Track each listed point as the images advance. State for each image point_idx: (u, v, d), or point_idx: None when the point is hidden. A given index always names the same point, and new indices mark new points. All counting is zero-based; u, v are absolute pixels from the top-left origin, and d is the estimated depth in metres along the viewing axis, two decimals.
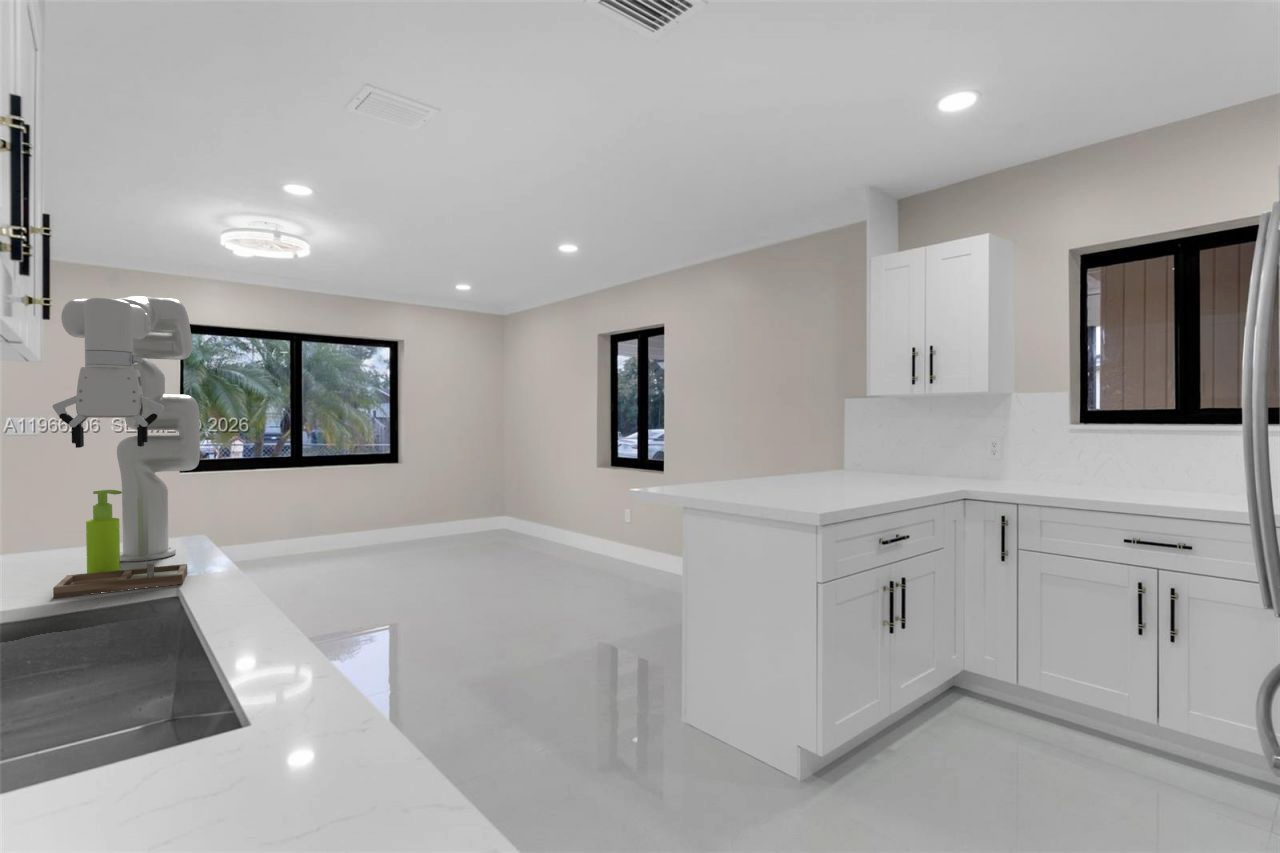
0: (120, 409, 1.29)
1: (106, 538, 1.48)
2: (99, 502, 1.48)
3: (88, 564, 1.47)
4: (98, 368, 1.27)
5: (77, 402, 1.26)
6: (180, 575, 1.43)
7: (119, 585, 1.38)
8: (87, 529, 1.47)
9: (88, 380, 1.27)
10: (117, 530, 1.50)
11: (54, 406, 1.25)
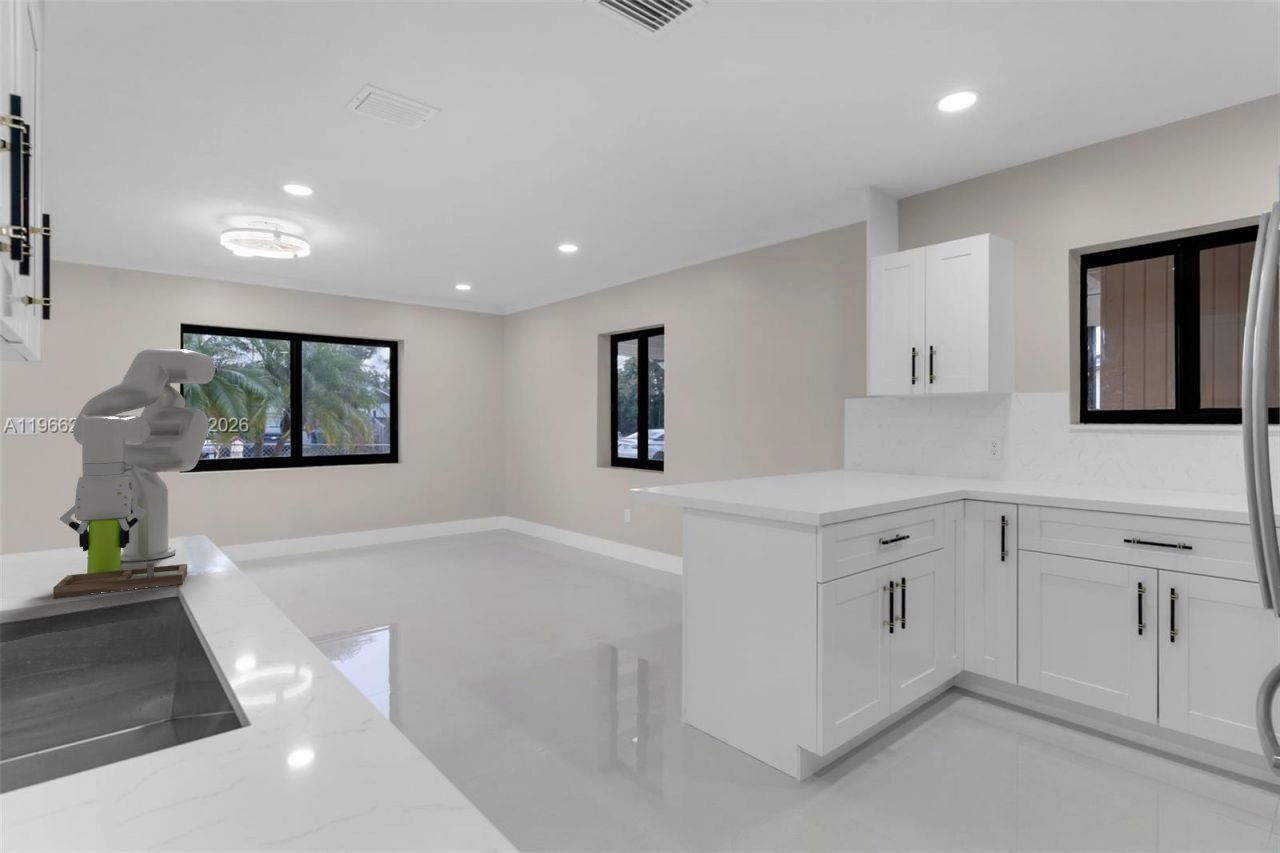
0: (113, 512, 1.48)
1: (108, 537, 1.48)
2: None
3: (89, 563, 1.47)
4: (94, 478, 1.46)
5: (75, 509, 1.45)
6: (180, 575, 1.43)
7: (119, 585, 1.38)
8: (90, 528, 1.47)
9: (85, 489, 1.46)
10: (119, 530, 1.50)
11: (61, 518, 1.45)
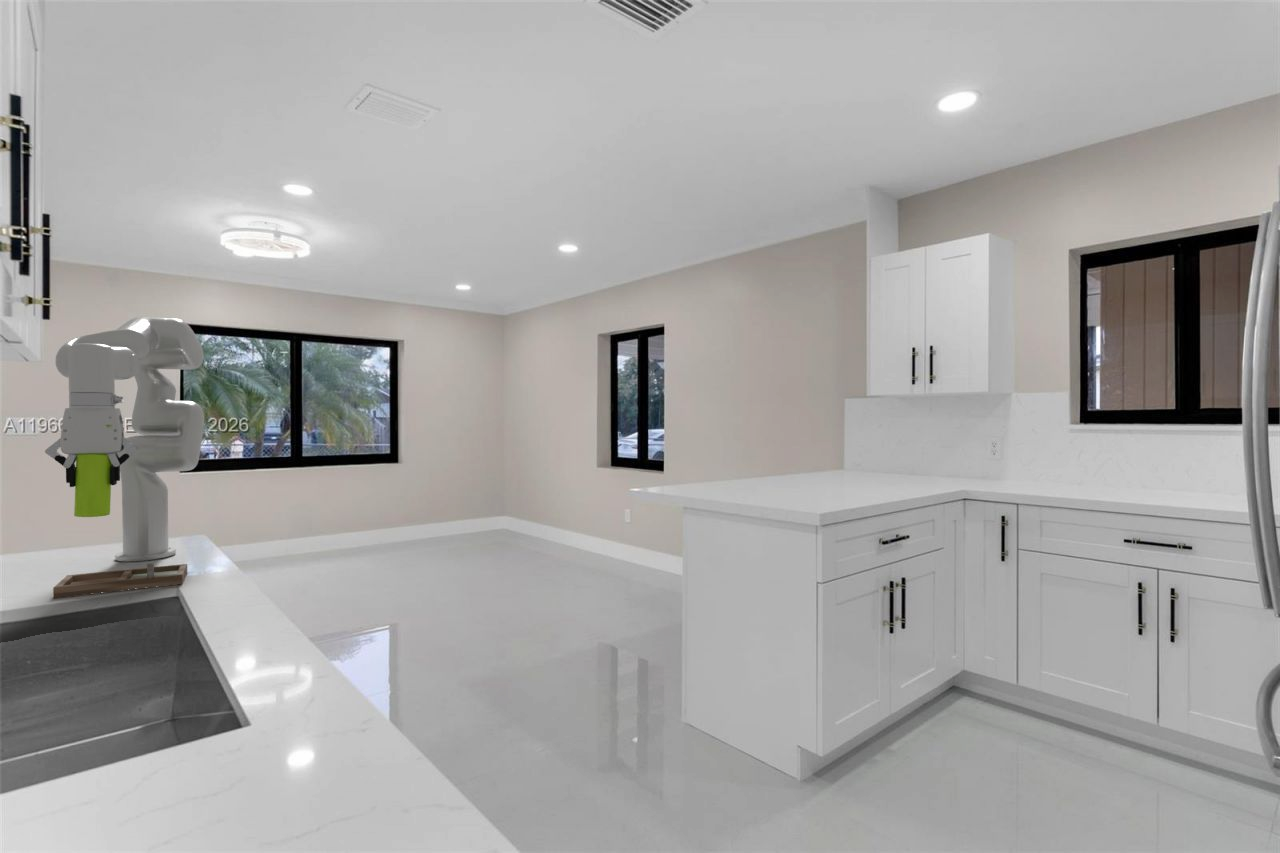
0: (102, 446, 1.39)
1: (97, 473, 1.38)
2: None
3: (76, 500, 1.37)
4: (81, 409, 1.36)
5: (62, 441, 1.35)
6: (180, 575, 1.43)
7: (119, 585, 1.38)
8: (77, 462, 1.37)
9: (72, 420, 1.36)
10: (109, 466, 1.40)
11: (46, 451, 1.35)
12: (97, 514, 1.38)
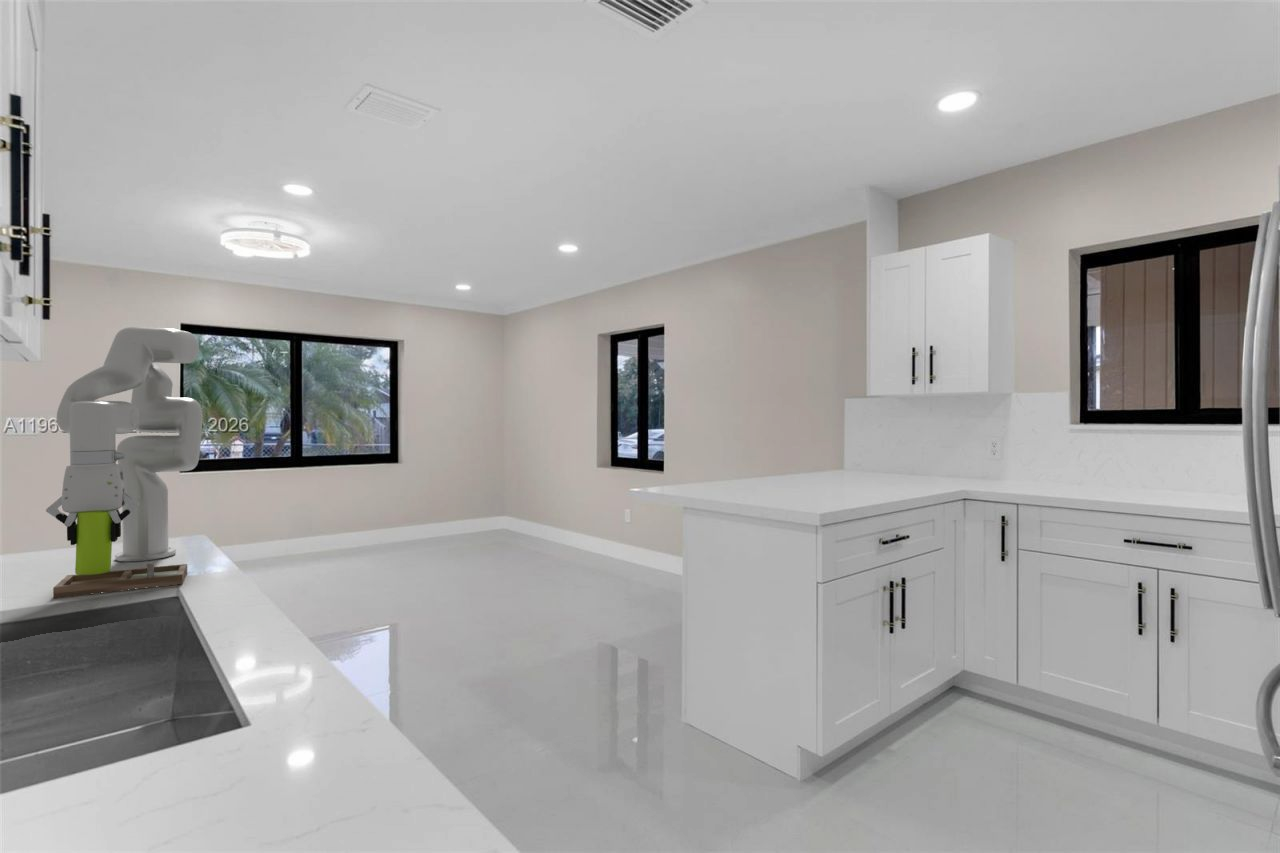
0: (103, 504, 1.39)
1: (98, 530, 1.38)
2: None
3: (77, 558, 1.38)
4: (82, 467, 1.37)
5: (63, 499, 1.36)
6: (180, 575, 1.43)
7: (119, 585, 1.38)
8: (78, 520, 1.38)
9: (73, 478, 1.36)
10: (110, 522, 1.41)
11: (47, 510, 1.36)
12: (98, 571, 1.39)
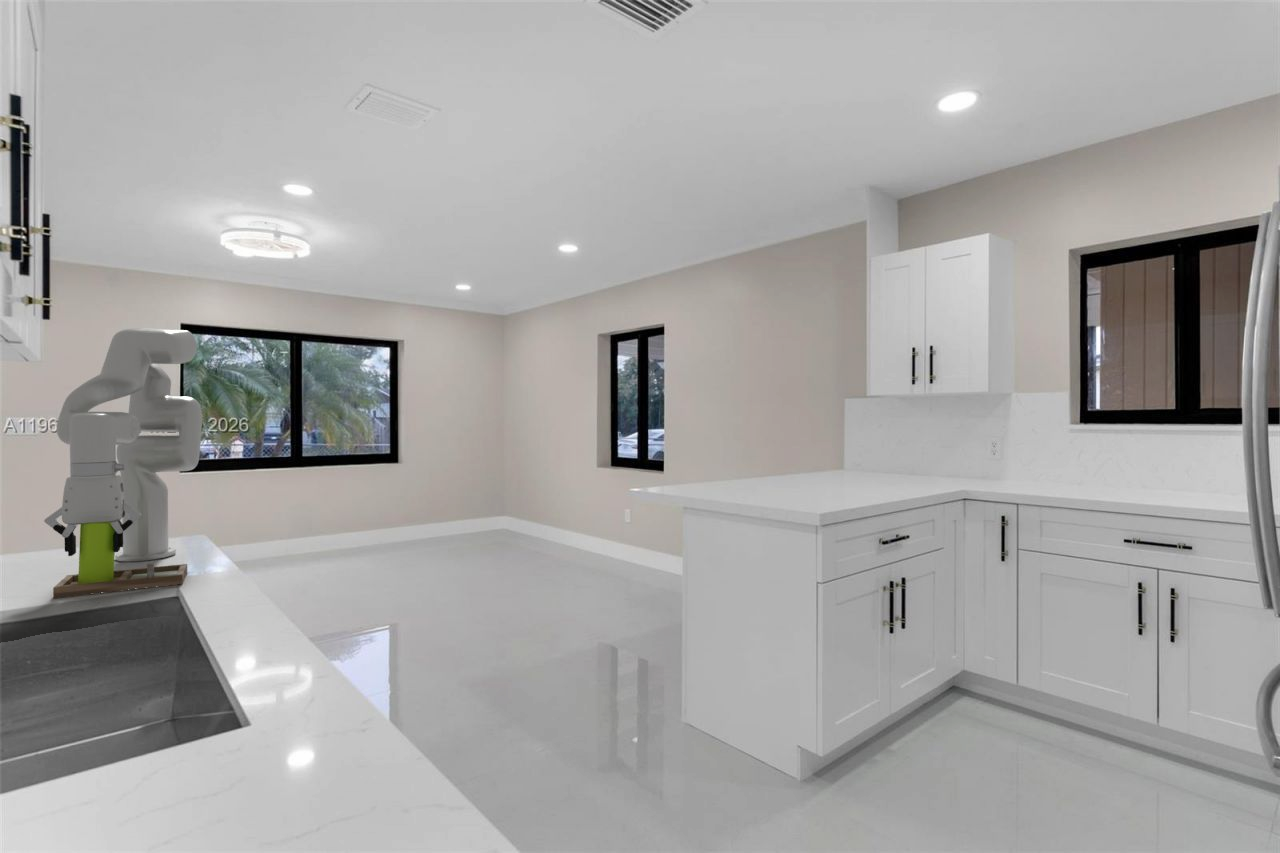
0: (103, 515, 1.39)
1: (101, 540, 1.39)
2: None
3: (80, 568, 1.38)
4: (82, 479, 1.37)
5: (63, 511, 1.36)
6: (180, 575, 1.43)
7: (119, 585, 1.38)
8: (81, 530, 1.38)
9: (73, 490, 1.36)
10: (113, 533, 1.41)
11: (46, 520, 1.35)
12: (101, 581, 1.39)
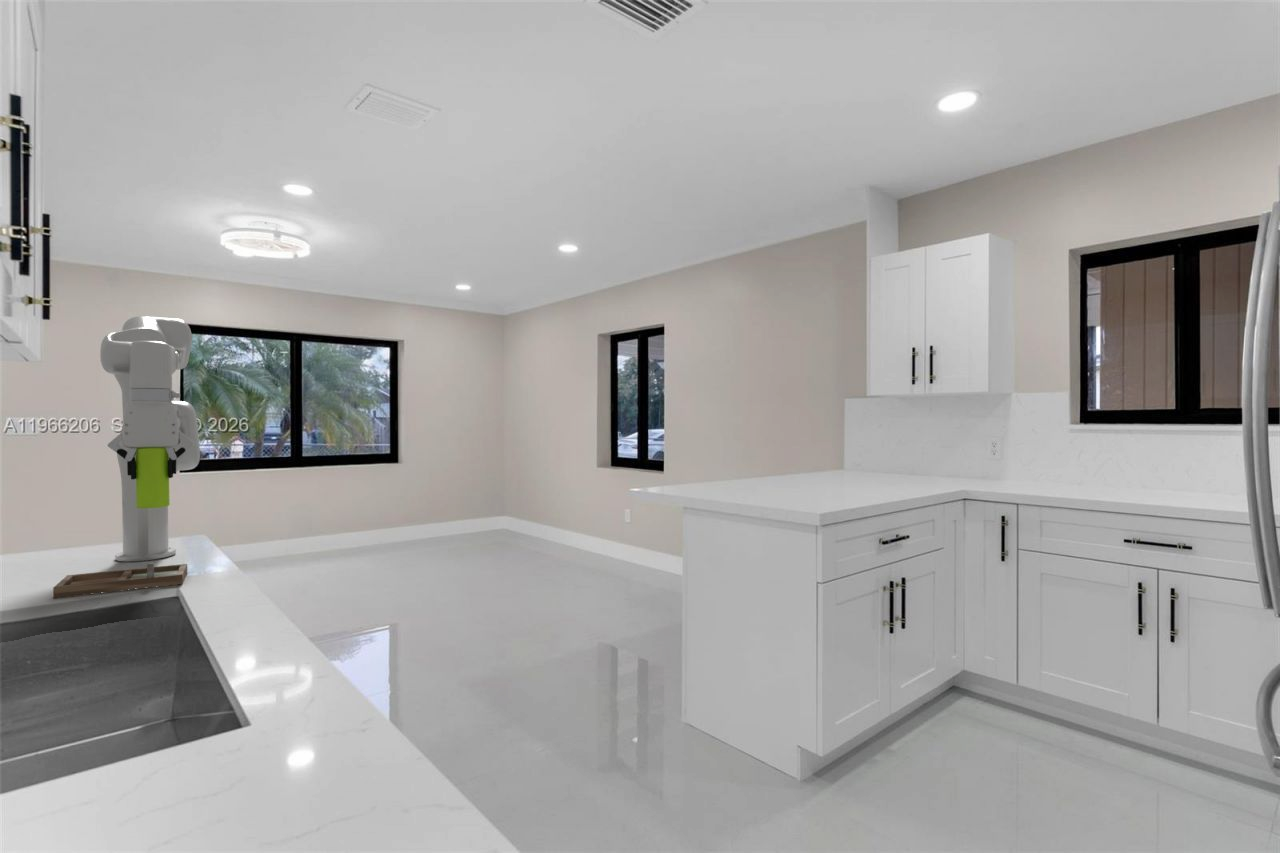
0: (161, 440, 1.44)
1: (157, 465, 1.43)
2: None
3: (138, 492, 1.43)
4: (142, 404, 1.42)
5: (123, 435, 1.41)
6: (180, 575, 1.43)
7: (119, 585, 1.38)
8: (137, 456, 1.42)
9: (133, 414, 1.41)
10: (167, 458, 1.46)
11: (109, 445, 1.40)
12: (158, 505, 1.44)
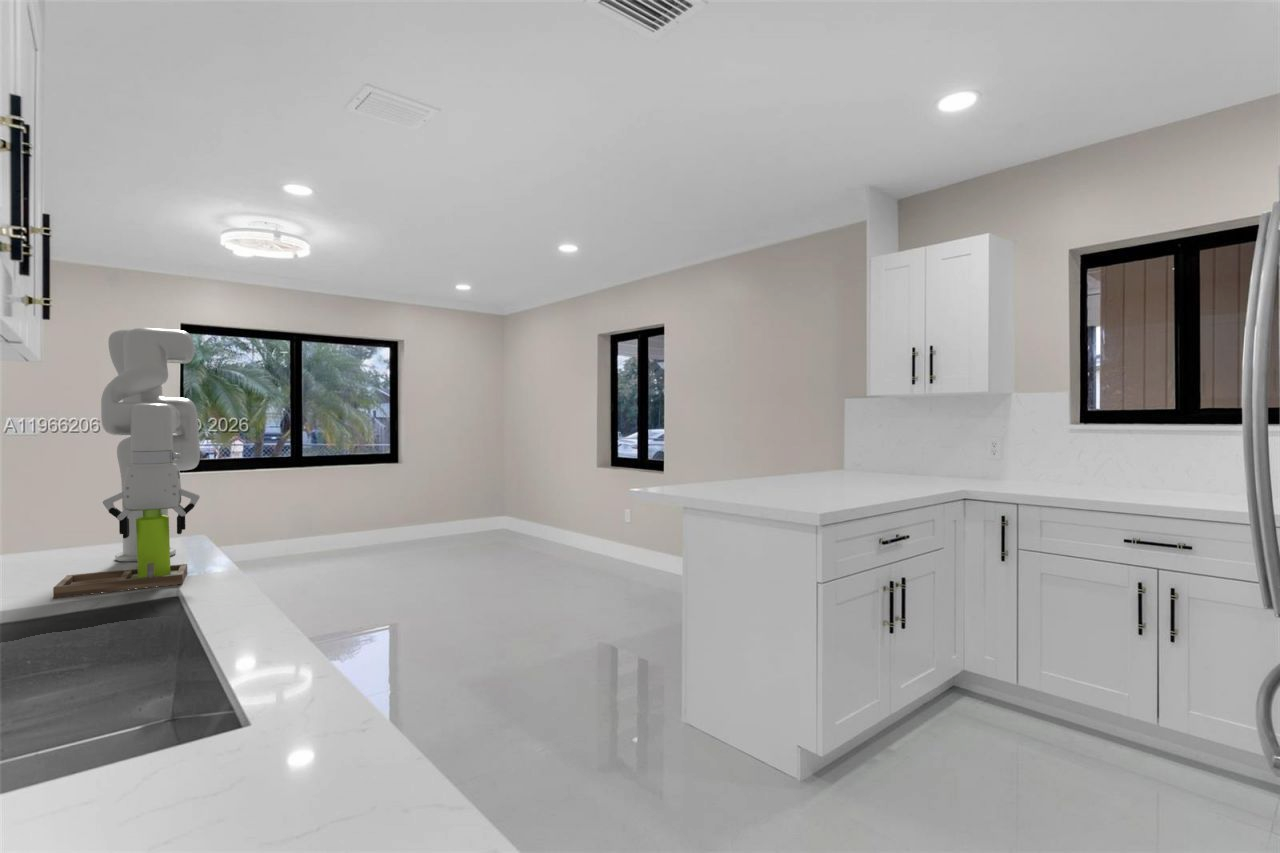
0: (162, 502, 1.44)
1: (157, 536, 1.44)
2: None
3: (139, 563, 1.43)
4: (143, 467, 1.42)
5: (124, 498, 1.41)
6: (180, 575, 1.43)
7: (119, 585, 1.38)
8: (137, 527, 1.43)
9: (134, 477, 1.41)
10: (167, 528, 1.46)
11: (104, 502, 1.40)
12: (160, 575, 1.44)
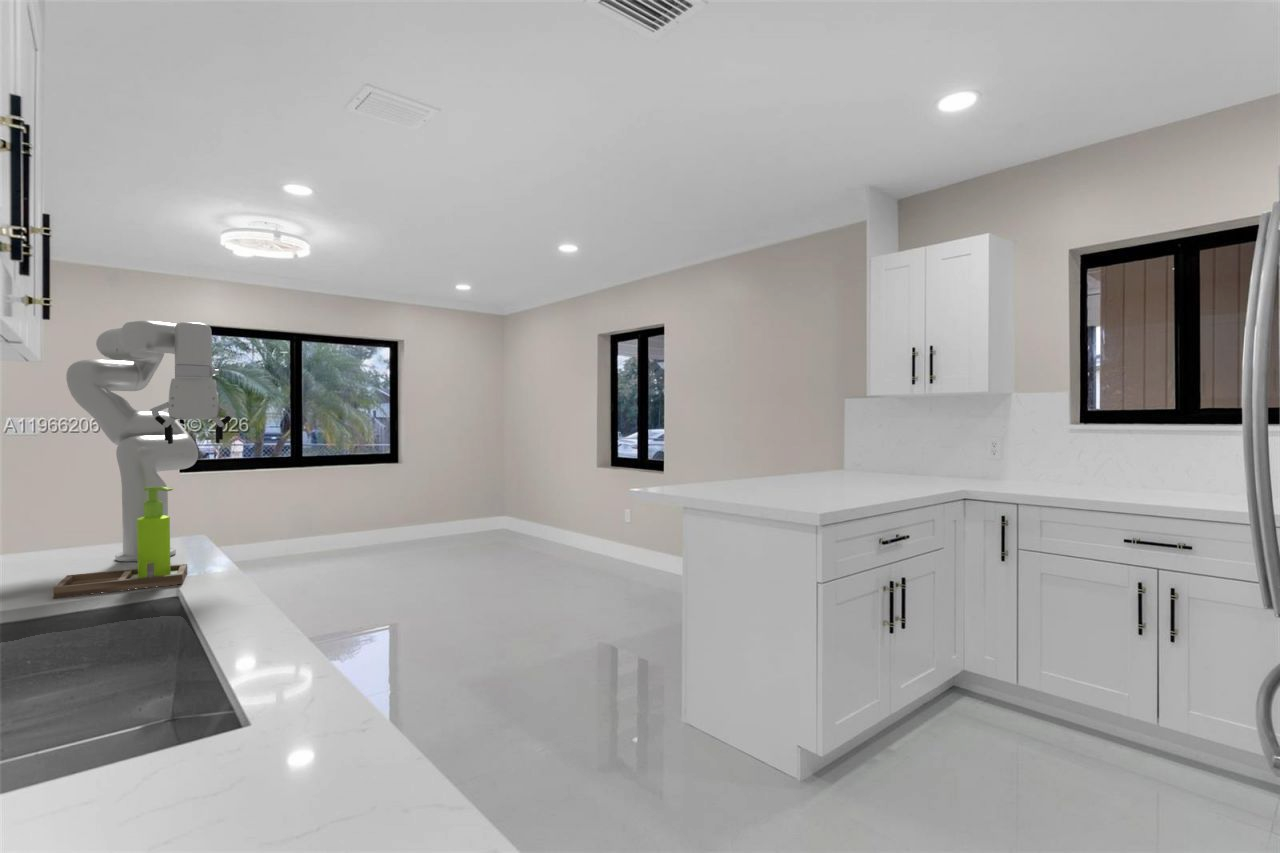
0: (202, 412, 1.58)
1: (158, 535, 1.44)
2: (150, 499, 1.45)
3: (139, 563, 1.43)
4: (186, 379, 1.56)
5: (169, 407, 1.55)
6: (180, 575, 1.43)
7: (119, 585, 1.38)
8: (138, 526, 1.43)
9: (178, 388, 1.56)
10: (168, 528, 1.46)
11: (151, 410, 1.55)
12: (160, 575, 1.44)
